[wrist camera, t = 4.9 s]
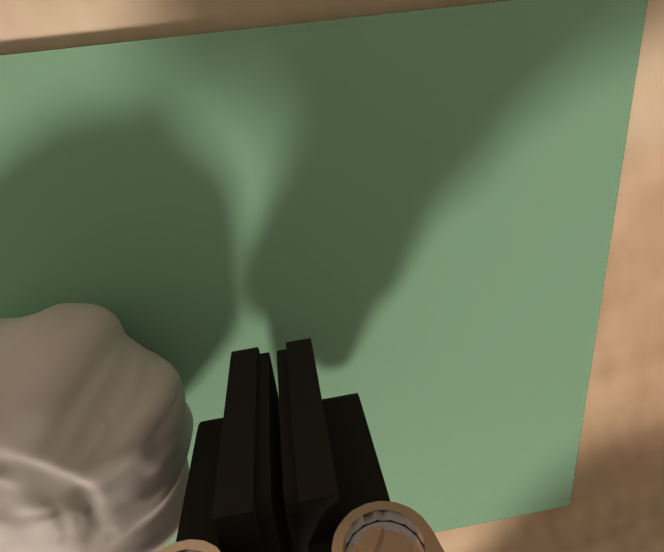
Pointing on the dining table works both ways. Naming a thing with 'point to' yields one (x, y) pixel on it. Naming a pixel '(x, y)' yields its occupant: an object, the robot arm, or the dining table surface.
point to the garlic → (88, 436)
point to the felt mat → (346, 220)
